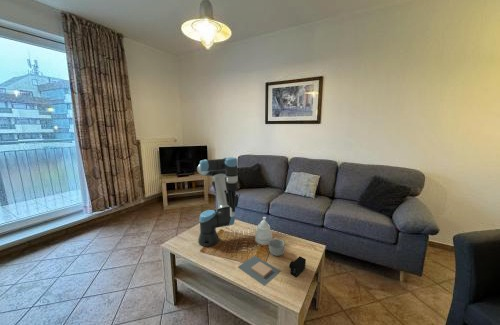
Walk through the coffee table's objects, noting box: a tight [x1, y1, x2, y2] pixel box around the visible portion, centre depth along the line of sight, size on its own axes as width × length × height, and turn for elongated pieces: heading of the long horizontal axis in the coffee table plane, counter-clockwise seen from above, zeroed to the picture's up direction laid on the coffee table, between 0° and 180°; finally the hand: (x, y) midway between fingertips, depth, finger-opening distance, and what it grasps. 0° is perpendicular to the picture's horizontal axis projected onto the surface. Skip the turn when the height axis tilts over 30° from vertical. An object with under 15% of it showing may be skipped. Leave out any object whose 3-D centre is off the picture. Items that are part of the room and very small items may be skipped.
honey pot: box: [254, 216, 273, 246], centre depth 159 cm, size 13×13×18 cm
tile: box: [251, 262, 272, 278], centre depth 127 cm, size 2×8×10 cm
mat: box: [237, 255, 282, 286], centre depth 128 cm, size 22×16×1 cm
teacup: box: [268, 237, 285, 257], centre depth 145 cm, size 14×11×8 cm
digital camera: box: [288, 256, 307, 279], centre depth 127 cm, size 10×5×7 cm, turn 136°
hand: (232, 216), depth 138 cm, fingers closed
